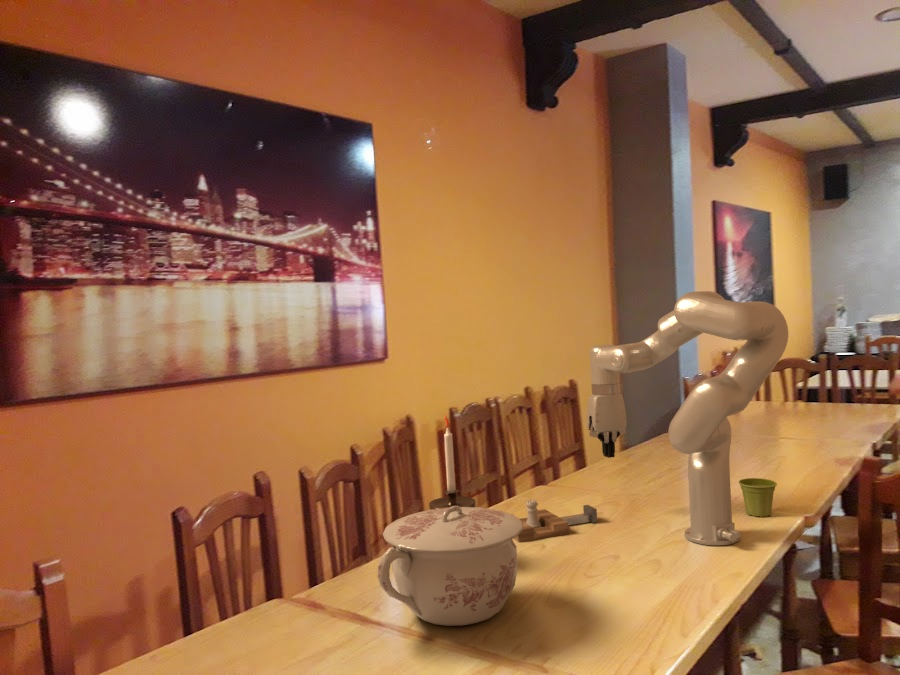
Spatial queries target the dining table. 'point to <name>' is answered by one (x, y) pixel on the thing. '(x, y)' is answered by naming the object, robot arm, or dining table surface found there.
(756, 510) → the plant pot
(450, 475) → the candlestick
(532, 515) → the rook chess piece
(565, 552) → the dining table surface
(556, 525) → the mount
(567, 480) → the dining table surface
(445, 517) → the chamber pot
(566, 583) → the dining table surface
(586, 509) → the lock pin
